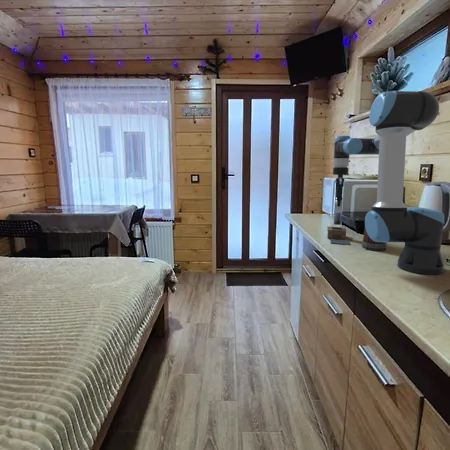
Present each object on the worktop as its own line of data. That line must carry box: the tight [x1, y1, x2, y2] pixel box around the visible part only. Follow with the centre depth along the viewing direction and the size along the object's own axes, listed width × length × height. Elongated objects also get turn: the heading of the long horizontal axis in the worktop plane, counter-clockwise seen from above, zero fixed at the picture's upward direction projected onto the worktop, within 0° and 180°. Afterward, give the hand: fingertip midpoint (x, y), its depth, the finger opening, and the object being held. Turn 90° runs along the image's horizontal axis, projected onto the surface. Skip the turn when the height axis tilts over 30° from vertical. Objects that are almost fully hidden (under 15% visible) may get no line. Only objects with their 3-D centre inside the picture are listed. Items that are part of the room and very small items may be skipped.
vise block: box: [326, 226, 347, 240], centre depth 173 cm, size 9×9×5 cm
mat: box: [330, 239, 351, 246], centre depth 163 cm, size 9×9×1 cm
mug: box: [361, 226, 387, 252], centre depth 153 cm, size 16×11×15 cm
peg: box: [333, 197, 344, 226], centre depth 170 cm, size 4×4×14 cm
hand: (338, 211), depth 170 cm, fingers closed on peg, 4 cm apart
